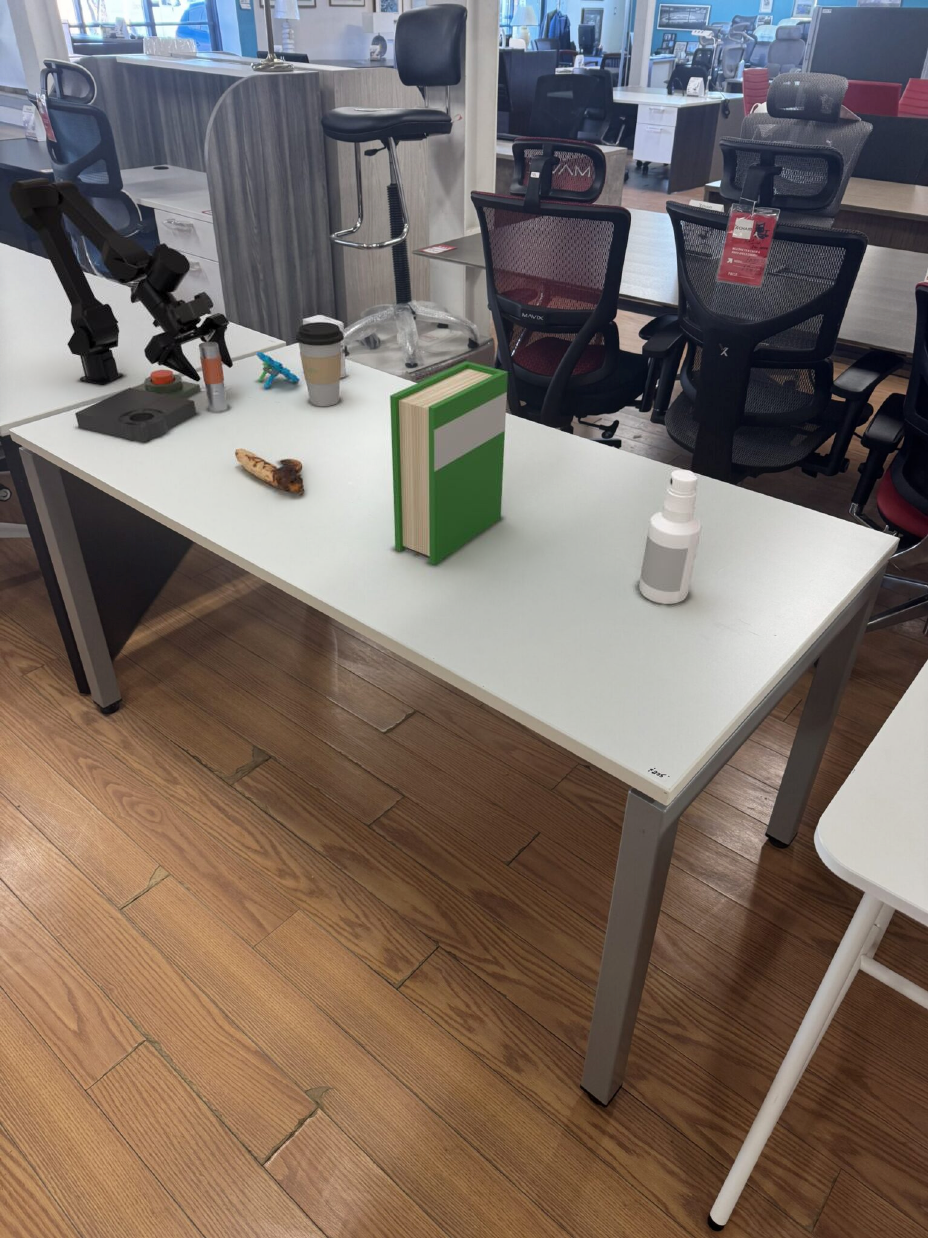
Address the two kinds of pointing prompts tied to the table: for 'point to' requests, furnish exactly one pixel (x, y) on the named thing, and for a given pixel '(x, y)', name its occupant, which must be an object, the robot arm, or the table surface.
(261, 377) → the blue toy gun
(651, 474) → the table surface
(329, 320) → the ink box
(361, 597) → the table surface
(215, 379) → the silver-capped orange cylinder
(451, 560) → the table surface
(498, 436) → the hardback book
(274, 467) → the lashed bone hook
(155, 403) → the grinder base
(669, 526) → the spray bottle
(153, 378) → the release button
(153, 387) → the button block
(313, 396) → the coffee cup
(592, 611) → the table surface
